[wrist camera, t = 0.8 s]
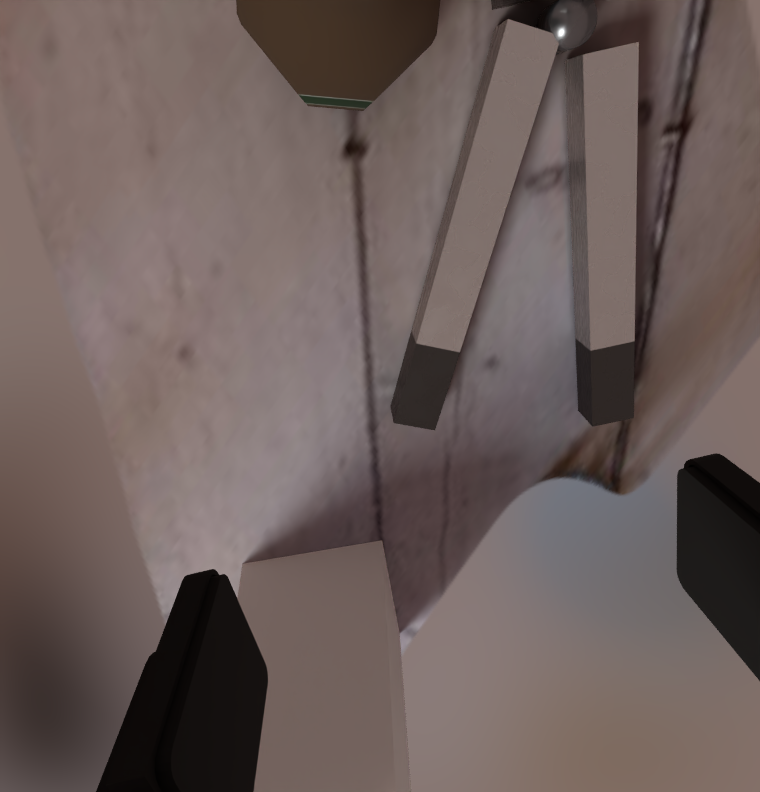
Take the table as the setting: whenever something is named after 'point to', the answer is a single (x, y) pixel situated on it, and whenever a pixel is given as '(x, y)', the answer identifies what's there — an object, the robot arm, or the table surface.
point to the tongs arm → (481, 199)
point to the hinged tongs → (603, 224)
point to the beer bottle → (340, 44)
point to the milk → (328, 672)
